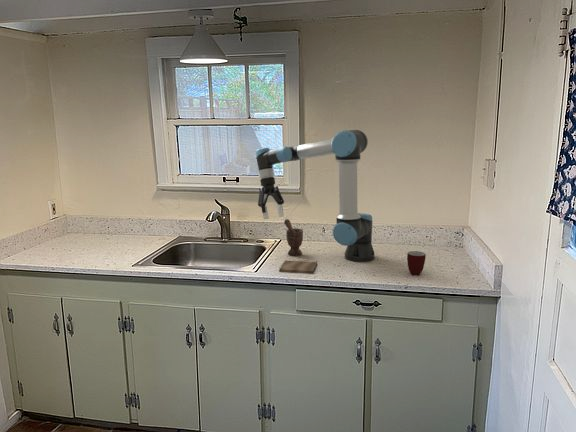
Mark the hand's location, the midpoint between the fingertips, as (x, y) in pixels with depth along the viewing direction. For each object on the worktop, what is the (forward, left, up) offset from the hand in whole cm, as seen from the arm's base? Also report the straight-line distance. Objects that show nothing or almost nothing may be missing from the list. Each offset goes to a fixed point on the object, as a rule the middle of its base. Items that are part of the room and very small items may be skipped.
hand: (274, 217), depth 250 cm
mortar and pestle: (-7, -8, -19) cm, 22 cm away
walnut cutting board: (-28, -3, -19) cm, 34 cm away
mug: (-54, -50, -19) cm, 77 cm away
